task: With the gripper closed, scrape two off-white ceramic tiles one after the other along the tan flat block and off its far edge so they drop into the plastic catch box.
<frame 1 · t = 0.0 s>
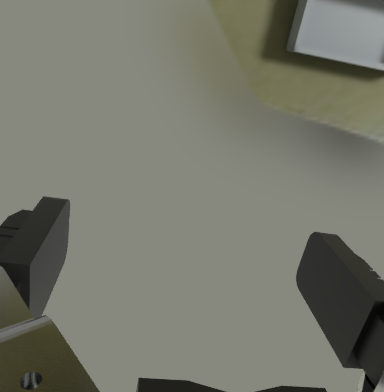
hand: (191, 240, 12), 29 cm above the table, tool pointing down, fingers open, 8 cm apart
catch box: (351, 29, 37), on the table
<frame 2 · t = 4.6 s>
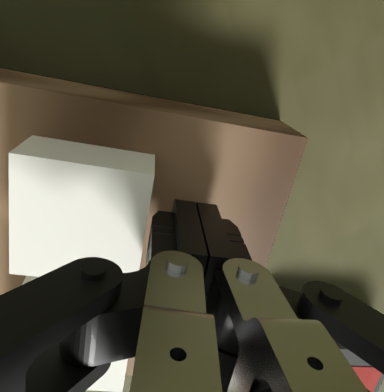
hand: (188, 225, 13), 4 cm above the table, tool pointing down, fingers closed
tile b: (83, 310, 14), point 3 cm above the table, touching tan flat block
tile a: (90, 199, 12), point 3 cm above the table, touching gripper
tan flat block: (111, 224, 16), on the table
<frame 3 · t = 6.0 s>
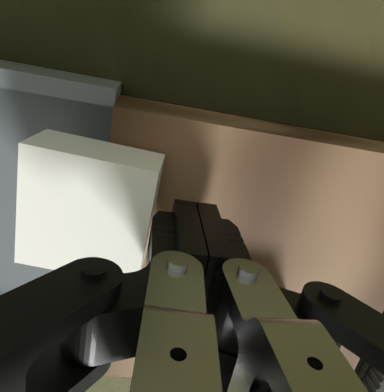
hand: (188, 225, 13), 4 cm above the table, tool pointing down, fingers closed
catch box: (32, 217, 16), on the table
tile a: (99, 195, 13), point 3 cm above the table, tilted 7°, touching tan flat block, gripper
tan flat block: (239, 241, 17), on the table
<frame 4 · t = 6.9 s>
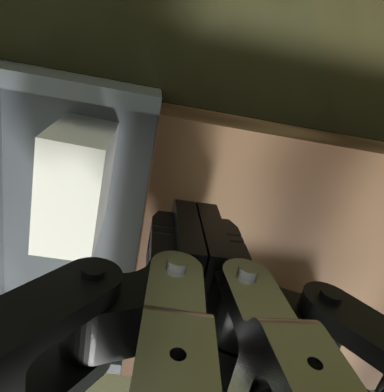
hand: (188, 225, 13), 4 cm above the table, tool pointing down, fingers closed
catch box: (69, 221, 16), on the table
tile a: (106, 186, 13), point 2 cm above the table, tilted 90°, touching catch box
tan flat block: (270, 245, 18), on the table
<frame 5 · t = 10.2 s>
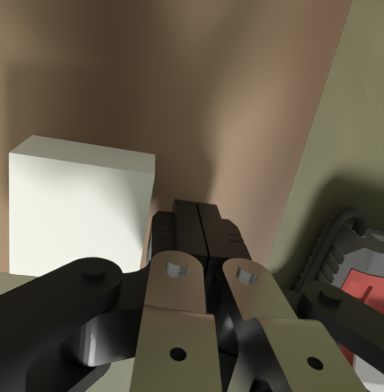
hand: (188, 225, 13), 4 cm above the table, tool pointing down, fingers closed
tile b: (90, 199, 12), point 3 cm above the table, touching tan flat block, gripper
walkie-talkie: (295, 348, 21), on the table
tan flat block: (123, 116, 14), on the table
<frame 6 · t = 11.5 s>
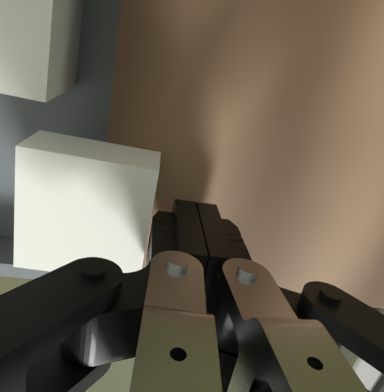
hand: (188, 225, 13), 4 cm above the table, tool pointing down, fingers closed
tile b: (95, 195, 13), point 3 cm above the table, touching tan flat block, gripper
catch box: (33, 103, 14), on the table
tile a: (68, 27, 11), point 2 cm above the table, tilted 90°, touching catch box
tan flat block: (265, 142, 16), on the table
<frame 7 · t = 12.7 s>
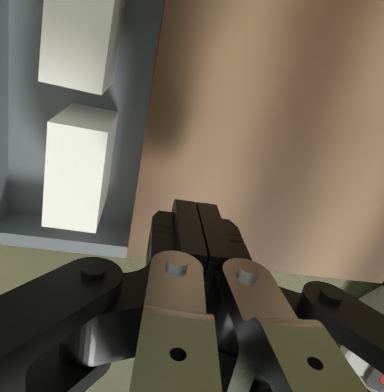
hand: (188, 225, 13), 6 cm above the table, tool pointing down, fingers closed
tile b: (107, 168, 15), point 2 cm above the table, tilted 90°, touching catch box
catch box: (75, 97, 16), on the table
tile a: (116, 32, 13), point 2 cm above the table, tilted 90°, touching catch box
tan flat block: (278, 134, 17), on the table
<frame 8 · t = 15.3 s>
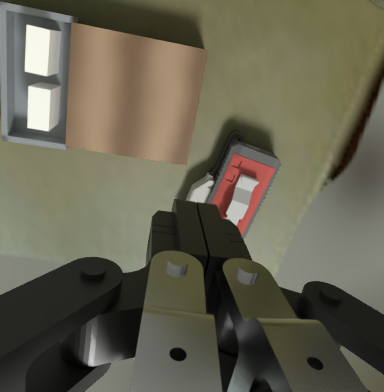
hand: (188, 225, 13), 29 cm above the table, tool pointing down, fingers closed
tile b: (55, 107, 36), point 2 cm above the table, tilted 90°, touching catch box
catch box: (42, 79, 37), on the table
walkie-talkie: (216, 204, 45), on the table
tile a: (54, 53, 34), point 2 cm above the table, tilted 90°, touching catch box
tan flat block: (135, 96, 39), on the table
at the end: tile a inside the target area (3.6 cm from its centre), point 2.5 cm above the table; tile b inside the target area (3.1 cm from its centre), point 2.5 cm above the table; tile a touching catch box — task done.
